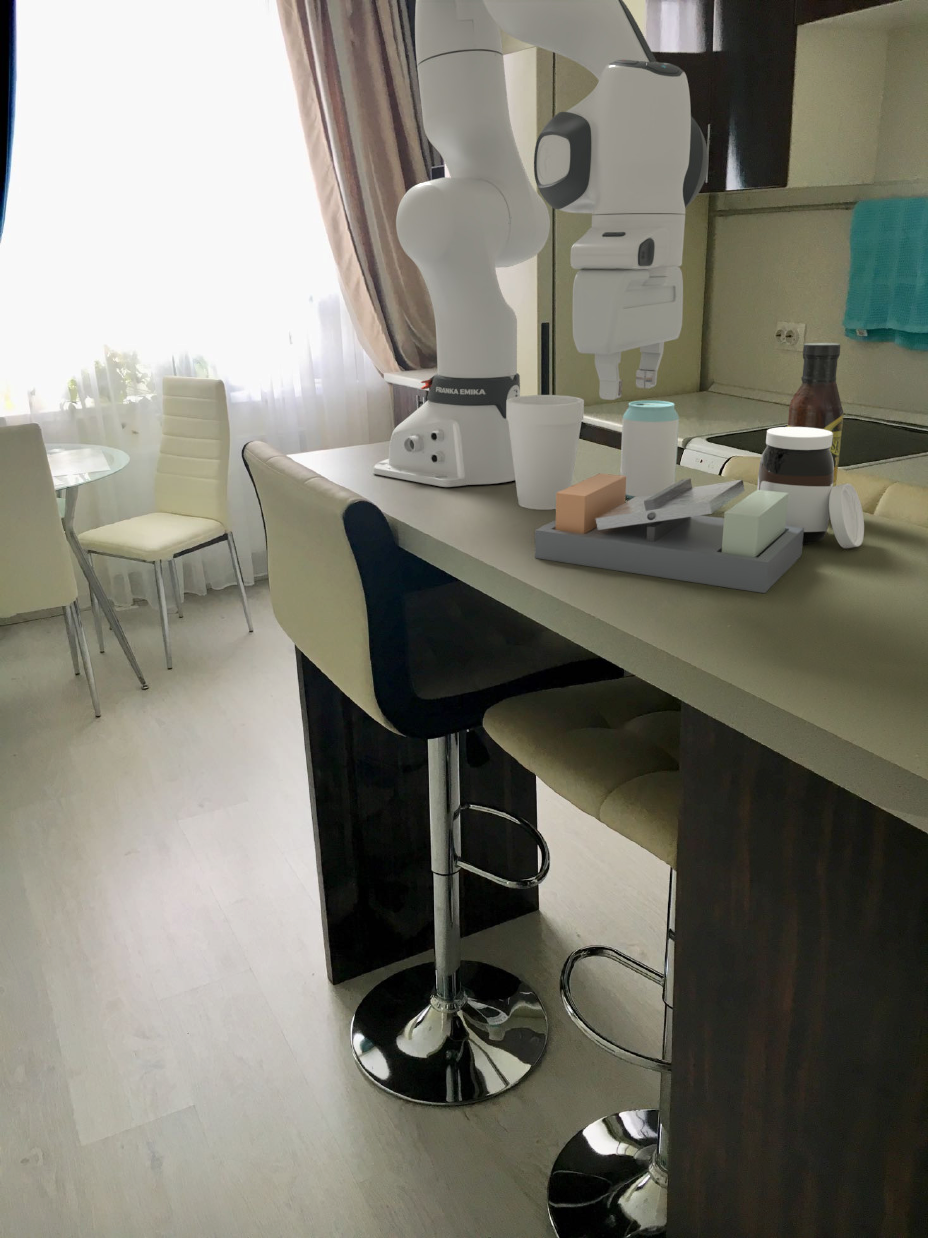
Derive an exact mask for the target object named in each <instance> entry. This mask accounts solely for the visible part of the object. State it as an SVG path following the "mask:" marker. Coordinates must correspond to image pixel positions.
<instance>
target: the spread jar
mask: <svg viewBox="0 0 928 1238" xmlns="http://www.w3.org/2000/svg"><path fill="white" fill-rule="evenodd" d="M765 438H766V439H765V444H766V447H765V449H763V450H764V451H763V452H762V454H761V457H760V460H759V465H758V474H757V475H758V476H757V489H756V490H764V491H774V492H783V493H788V502H787V512H786V522H785V526H793V527H801V528H804V534H803V543H802V545H809V544H815V542H816V543H818V542H820V541H822V540H823V539H824V538H825V537H826V535H827V532H828V528H829V521H830V524H831V528H832V532H833V534H834V537H835V539H836V541H837V543H838V544H839V546H840V547H842V548H843V549H850V548H856V547H860V546H861V545H862V544H863V541H864V535H865V523H864V522H865V520H864V511H863V507H862V503H861V501H860V498H859V495H858V493H857V490H856V489H855V487H854V486H853V485H852V484H850V483H843V484H836V486H834V487H833V479H834V463H833V457H832V454H831V451H830V447H831V446H832V438H833V433H832V432H831V431H828V430H824V429H818V428H808V427H787V426H779V427H773V428H769V429H767V430H766V437H765Z"/></svg>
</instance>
